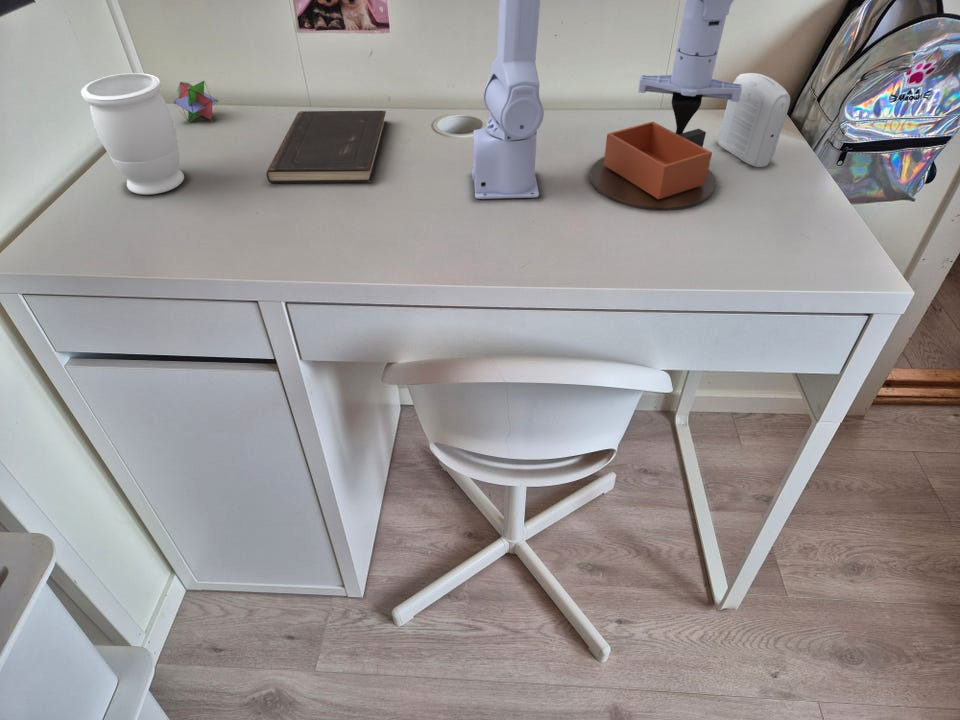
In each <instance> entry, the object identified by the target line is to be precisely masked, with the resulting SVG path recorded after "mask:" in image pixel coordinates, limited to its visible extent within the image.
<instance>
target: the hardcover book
mask: <svg viewBox="0 0 960 720" xmlns="http://www.w3.org/2000/svg"><path fill="white" fill-rule="evenodd" d="M386 113H387V111H386V110H310V111H307V110H305V111H303V110H302V111H297V113H296V115H295V117H294V119H293V121H292V123H291V124H290V127H289V129H288V130H287V132H286V134H285V136H284V138H283V140H282V142H281V144H280V146H279V148H278V149H277V152H276V153H275V155H274V157H273V159H272V161H271V163H270V165H269V167H268V169H267V171H266V172H265V173H266V178H267V181H268V182H269V183H270V184H275V185H277V184H371V183H372V182H373V178H374V175H375V171H376V166H377V163H378V159H379V155H380V151H381V148H382V144H383V139H384V136H385V132H386V128H387V125H388V124H387V123H388V121H386V120H385V117H386Z"/></svg>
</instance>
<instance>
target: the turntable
mask: <svg viewBox="0 0 960 720" xmlns="http://www.w3.org/2000/svg"><path fill="white" fill-rule="evenodd" d="M604 157H605V156H603V157H601V158H599V159H598V160H597V161H595V162H594V164H593V165H592V166H591V169H590V173H589V180H590V183H591V185H592V186H593V188H594V189H595V190H596V191H597V192H598V193H600V194H601V195H602V196H604V197H605V198H607V199H609V200H611V201H613V202H615V203H617V204H620V205H623V206H627V207H630V208H635V209H640V210H648V211H661V212H663V211H665V212H666V211H677V210H679V211H680V210H685V209H689V208H690V209H691V208H693V207H696V206H699V205H701V204H704V203H705V202H707V201H708V200H709V199H710V198H711V197H712V196H713V195H714V193H715V191H716V186H717V181H716V178H715V175H714V174H713V173H712V172H711V170H710V169H708V172H707V176H706V180H705V184H704V185H702V186H699V187H696V188H692V189H689V190H686V191H683V192H680V193H677V194H674V195H671V196H668V197H665V198H662V199H657V198H655V197H654V196H652V195H651V194H649V193H647V192H646V191H644V190H643V189H641V188H639V187H638V186H636V185H635V184H633V183H632V182H630V181H628V180H627V179H625V178H624V177H622V176H620V175H619V174H617V173H616V172H614V171H613V170H611V169H609V168H608V167H606V166H605V165H604Z"/></svg>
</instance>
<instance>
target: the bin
mask: <svg viewBox="0 0 960 720" xmlns="http://www.w3.org/2000/svg"><path fill="white" fill-rule="evenodd" d="M706 135H707V132H706V131H705V130H703V129H701V128H696V129H693V130H688V131H684V132H683V133H681V134H676V132H674V131H672V130H670V129H668V128H666V127H664V126H662V125H661V124H659V123H656V122H655V121H650V122H646V123H642V124H637V125H634V126H631V127H630V126H629V127H626V128H623V129H619V130H615V131H612V132H608V133H607V135H606V141H605V148H604V149H605V150H604V156H603V157H604V165H605V166H606V167H608V168H609V169H611V170H613V171H614V172H616V173H617V174H619V175H620V176H622V177H624V178H625V179H627V180H628V181H630V182H632V183H633V184H635V185H636V186H638V187H639V188H641V189H643V190H644V191H646V192H647V193H649V194H651V195H652V196H654V197H655V198H657V199H662V198H665V197H668V196H671V195H674V194H677V193H680V192H683V191H686V190H689V189H692V188H696V187H699V186H702V185H704V184H705V180H706V176H707V172H708V170H709V169H710V163H711V159H712V155H713V152H712V151H711V150H709V149H707V148H704V143H705V140H706V139H705V138H706Z"/></svg>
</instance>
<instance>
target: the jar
mask: <svg viewBox="0 0 960 720" xmlns="http://www.w3.org/2000/svg"><path fill="white" fill-rule="evenodd" d="M161 89H162V84H161V82H160V79H159V78H158V77H157V76H156V75H153V74H149V73H144V72H143V73H142V72H126V73H118V74H117V73H116V74H112V75H106V76H104V77H100V78H97V79H94V80H92V81H90V82H87V83H86V84H85V85H83V87H82V88H81V89H80V94H81V97H82V99H83V100H84V101H85V102H86V103H88V104H89V108H90V115H91V119H92V122H93V123H92V124H93V126H94V128H95V132H96V134H97V136H98V139H99V141H100V142H101V144H102V146H103V147H104V149H105V151H106V152H107V154H108V155H109V157H110V159H111V161H112V163H113V164H114V166H115V167H116V168H117V170H118V171H119V173H121V175H122V176H124V178H126V187H127V189H128V190H129V191H130V192H131V193H133V194H136V195H145V196H146V195H149V196H150V195H159V194H161V193H162V194H163V193H166V192H169V191H172V190H174V189H176V188H177V187H178V186H180V185H181V184H182V183H183V182H184V180H185V175H184V172H183V171H182V170H181V169H180V168H179V166H180V150H179V149H180V148H179V145H178V136H177V130H176V127H175V123H174V120H173V116H172V114H171V111H170V109H169V106H168V104H167V103H166V101H165V99H164V97H163V96H162V94H161V93H160V91H161Z"/></svg>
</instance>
